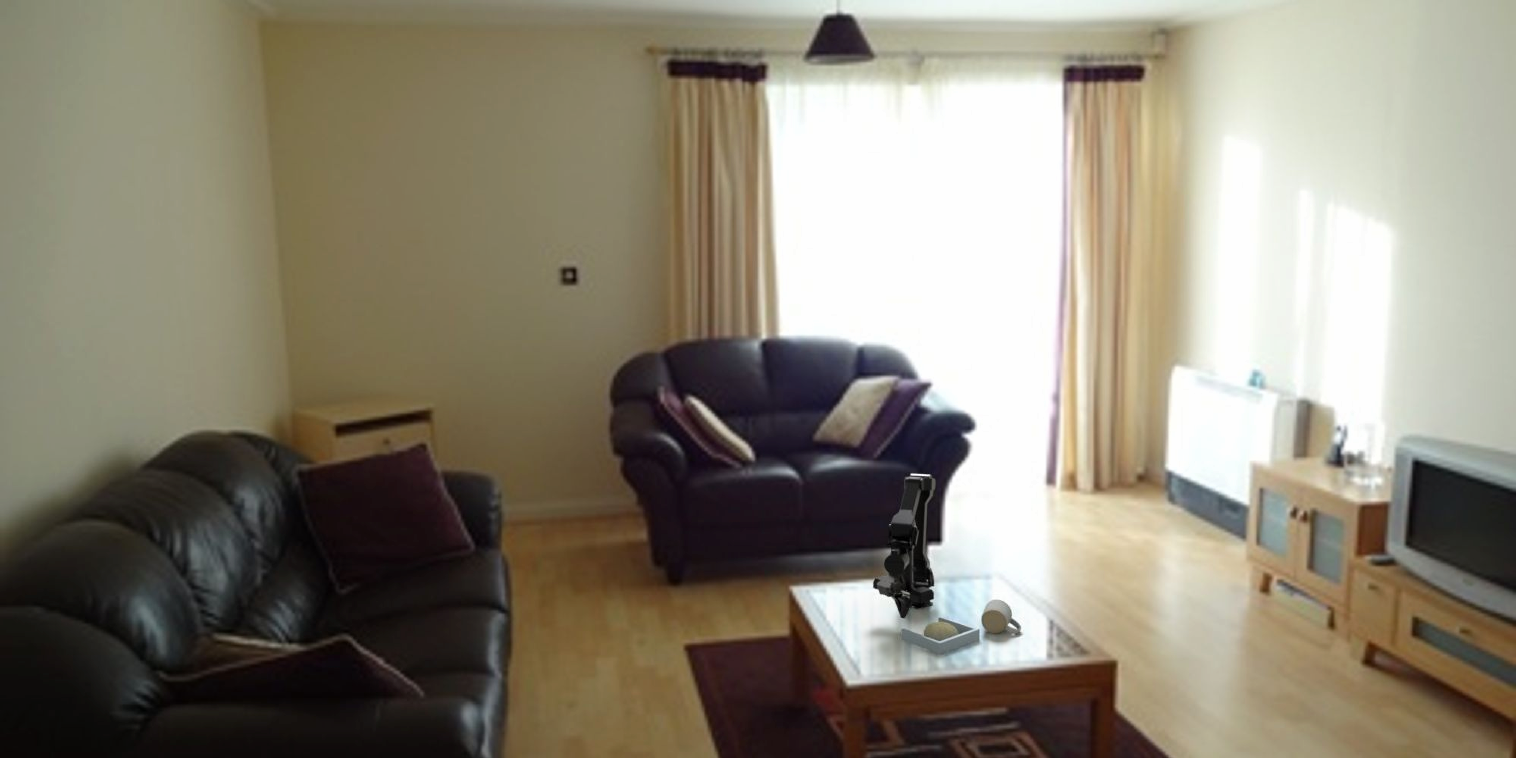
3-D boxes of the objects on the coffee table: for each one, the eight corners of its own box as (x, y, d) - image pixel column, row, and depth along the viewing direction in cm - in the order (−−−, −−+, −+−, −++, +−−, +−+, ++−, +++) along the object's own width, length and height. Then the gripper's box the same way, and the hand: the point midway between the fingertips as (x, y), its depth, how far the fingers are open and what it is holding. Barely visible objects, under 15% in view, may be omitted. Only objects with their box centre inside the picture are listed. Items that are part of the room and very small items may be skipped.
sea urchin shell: (954, 642, 282) (934, 618, 285) (934, 659, 286) (914, 635, 288) (966, 631, 290) (946, 608, 292) (946, 648, 294) (927, 625, 296)
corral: (901, 639, 290) (901, 629, 290) (940, 626, 300) (940, 615, 300) (939, 654, 279) (939, 643, 279) (979, 639, 289) (979, 629, 289)
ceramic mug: (979, 633, 294) (980, 606, 293) (984, 623, 301) (985, 597, 300) (1019, 638, 290) (1019, 611, 289) (1022, 628, 298) (1023, 601, 297)
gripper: (859, 563, 301) (859, 616, 302) (907, 578, 286) (907, 633, 288) (886, 555, 307) (887, 607, 309) (935, 569, 293) (935, 624, 295)
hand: (903, 618), depth 300 cm, fingers closed
